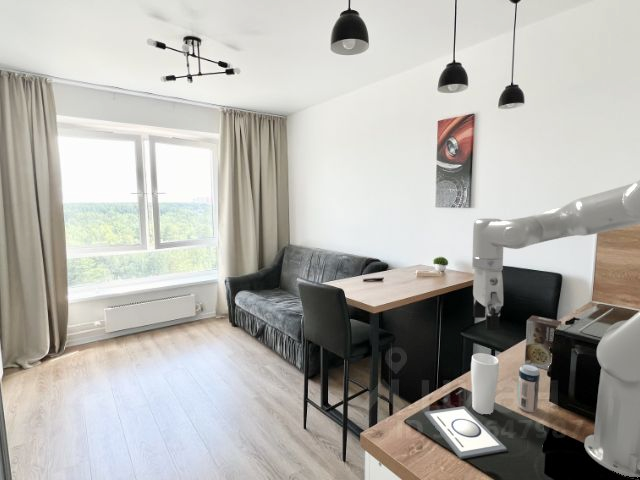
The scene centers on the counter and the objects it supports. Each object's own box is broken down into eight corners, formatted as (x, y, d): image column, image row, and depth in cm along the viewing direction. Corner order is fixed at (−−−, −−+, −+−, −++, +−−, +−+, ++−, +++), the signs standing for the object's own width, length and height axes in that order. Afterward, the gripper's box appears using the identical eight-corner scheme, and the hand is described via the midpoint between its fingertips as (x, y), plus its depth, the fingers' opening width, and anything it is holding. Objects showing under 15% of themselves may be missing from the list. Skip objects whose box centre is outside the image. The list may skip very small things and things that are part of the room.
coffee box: (559, 365, 119) (562, 321, 116) (554, 372, 114) (558, 326, 112) (529, 357, 125) (532, 314, 123) (523, 363, 121) (526, 319, 119)
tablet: (506, 450, 80) (506, 447, 80) (460, 459, 78) (460, 456, 77) (463, 408, 96) (464, 405, 96) (424, 414, 94) (424, 411, 93)
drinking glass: (499, 419, 91) (502, 365, 89) (472, 416, 92) (474, 363, 90) (492, 403, 98) (495, 354, 96) (466, 401, 99) (469, 352, 97)
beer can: (540, 414, 93) (543, 372, 91) (521, 412, 94) (524, 371, 92) (532, 403, 98) (535, 363, 96) (514, 402, 98) (516, 362, 97)
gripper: (516, 269, 86) (513, 335, 88) (489, 258, 103) (487, 313, 105) (484, 270, 86) (482, 335, 88) (463, 258, 103) (462, 313, 105)
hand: (485, 323), depth 97 cm, fingers open, 9 cm apart
